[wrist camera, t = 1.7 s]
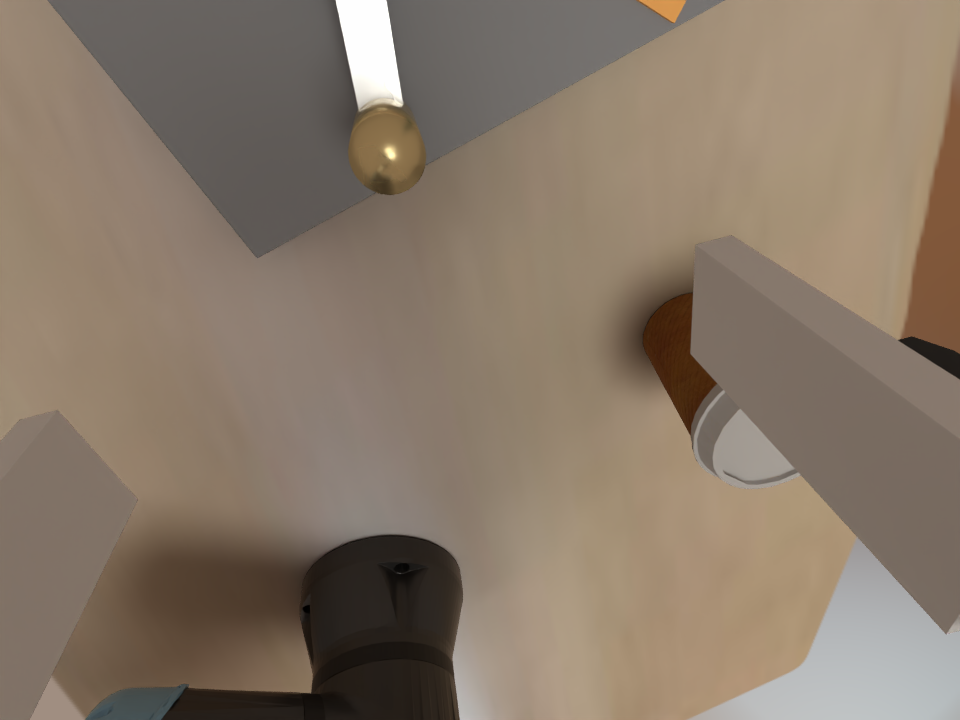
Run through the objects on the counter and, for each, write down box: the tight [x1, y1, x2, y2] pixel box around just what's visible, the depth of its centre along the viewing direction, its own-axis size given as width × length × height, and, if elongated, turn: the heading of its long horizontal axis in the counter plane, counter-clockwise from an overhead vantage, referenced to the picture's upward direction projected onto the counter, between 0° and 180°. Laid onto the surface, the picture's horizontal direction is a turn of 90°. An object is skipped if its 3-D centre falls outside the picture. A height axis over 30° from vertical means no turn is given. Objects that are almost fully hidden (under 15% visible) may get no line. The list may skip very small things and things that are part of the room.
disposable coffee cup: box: [643, 293, 801, 489], centre depth 34 cm, size 10×10×12 cm
